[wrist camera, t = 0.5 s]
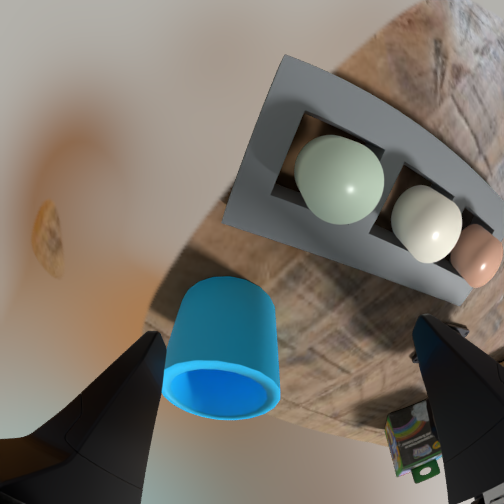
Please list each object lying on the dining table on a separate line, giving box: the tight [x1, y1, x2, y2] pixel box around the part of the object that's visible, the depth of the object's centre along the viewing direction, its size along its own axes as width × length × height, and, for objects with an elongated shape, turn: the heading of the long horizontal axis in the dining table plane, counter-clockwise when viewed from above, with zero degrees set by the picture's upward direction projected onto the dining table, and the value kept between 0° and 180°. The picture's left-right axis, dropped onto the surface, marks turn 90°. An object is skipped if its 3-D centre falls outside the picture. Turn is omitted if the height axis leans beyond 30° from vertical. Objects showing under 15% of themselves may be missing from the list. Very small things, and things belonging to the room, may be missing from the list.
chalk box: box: [385, 400, 442, 483], centre depth 30 cm, size 9×9×15 cm
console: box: [221, 55, 504, 306], centre depth 16 cm, size 22×10×3 cm, turn 70°
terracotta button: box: [451, 224, 503, 288], centre depth 14 cm, size 4×4×2 cm
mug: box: [162, 276, 280, 420], centre depth 20 cm, size 12×8×8 cm
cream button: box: [391, 185, 462, 263], centre depth 13 cm, size 4×4×2 cm
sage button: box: [294, 135, 384, 225], centre depth 12 cm, size 4×4×2 cm
